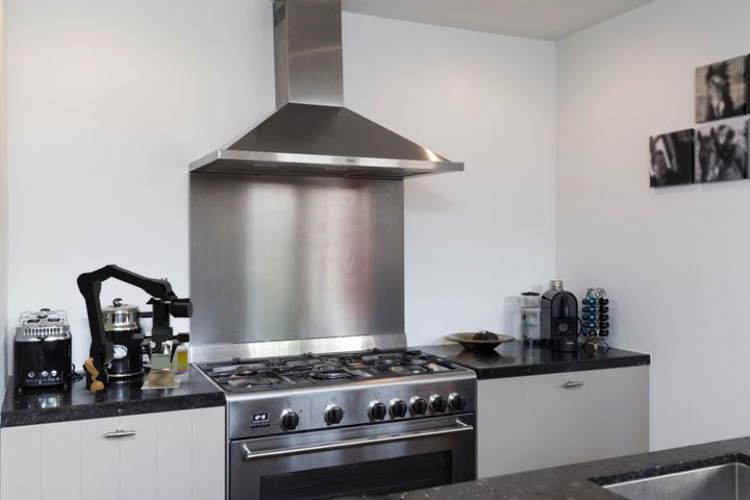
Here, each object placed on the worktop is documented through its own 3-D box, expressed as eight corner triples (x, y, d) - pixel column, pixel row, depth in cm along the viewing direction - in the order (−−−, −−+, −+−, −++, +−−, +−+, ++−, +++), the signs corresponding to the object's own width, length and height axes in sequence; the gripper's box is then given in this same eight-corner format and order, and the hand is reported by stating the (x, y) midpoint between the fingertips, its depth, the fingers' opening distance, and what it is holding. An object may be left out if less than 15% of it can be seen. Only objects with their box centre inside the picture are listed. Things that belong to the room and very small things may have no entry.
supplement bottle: (191, 372, 274) (191, 338, 273) (182, 375, 267) (182, 341, 267) (175, 371, 275) (175, 337, 275) (166, 374, 269) (166, 340, 268)
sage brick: (151, 369, 241) (151, 357, 241) (153, 365, 247) (153, 354, 247) (169, 368, 242) (169, 356, 242) (171, 365, 248) (171, 353, 248)
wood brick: (148, 386, 240) (148, 375, 240) (150, 382, 248) (150, 370, 248) (172, 385, 242) (172, 374, 242) (174, 381, 250) (174, 369, 249)
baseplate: (140, 393, 237) (140, 389, 237) (145, 384, 250) (145, 380, 250) (178, 392, 239) (178, 387, 239) (181, 383, 253) (181, 379, 253)
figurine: (108, 394, 236) (108, 357, 235) (90, 397, 232) (89, 360, 231) (98, 390, 242) (97, 354, 242) (80, 393, 238) (79, 356, 237)
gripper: (129, 321, 234) (129, 368, 235) (188, 320, 238) (188, 366, 239) (133, 317, 245) (133, 362, 246) (190, 316, 249) (190, 361, 249)
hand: (161, 363), depth 245 cm, fingers closed on sage brick, 6 cm apart
